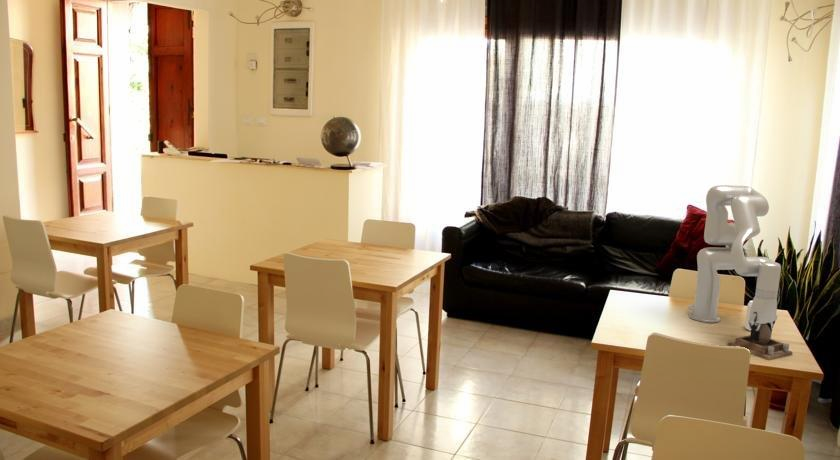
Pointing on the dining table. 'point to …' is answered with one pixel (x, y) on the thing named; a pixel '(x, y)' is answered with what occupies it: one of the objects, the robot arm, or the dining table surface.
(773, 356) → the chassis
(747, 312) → the beverage can
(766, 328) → the vase
